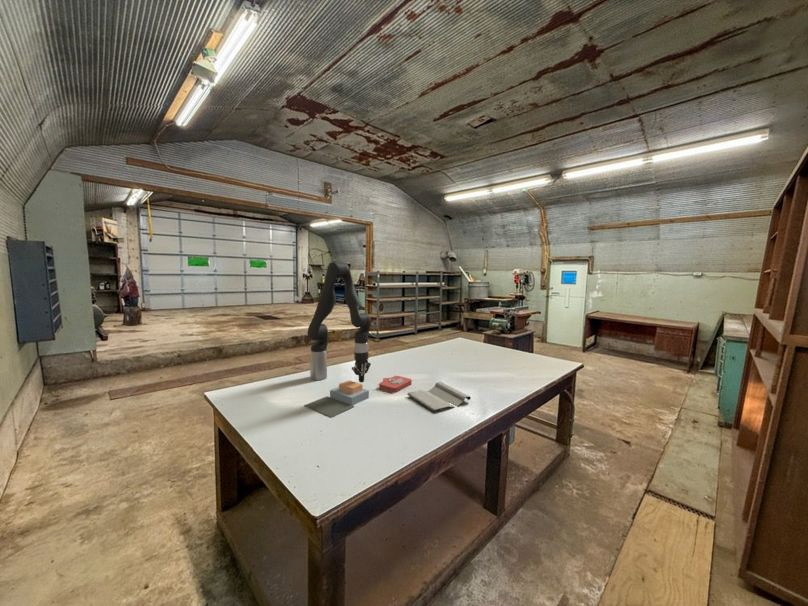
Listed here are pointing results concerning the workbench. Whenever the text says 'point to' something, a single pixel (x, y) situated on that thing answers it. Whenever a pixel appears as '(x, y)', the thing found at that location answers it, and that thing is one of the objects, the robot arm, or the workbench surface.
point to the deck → (349, 396)
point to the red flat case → (394, 384)
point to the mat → (439, 397)
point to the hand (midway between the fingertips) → (361, 381)
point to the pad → (329, 406)
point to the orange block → (350, 387)
